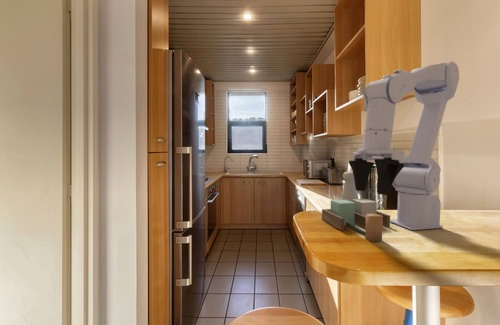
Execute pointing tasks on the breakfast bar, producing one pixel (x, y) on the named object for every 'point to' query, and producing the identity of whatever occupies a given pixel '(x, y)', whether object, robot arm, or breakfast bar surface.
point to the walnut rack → (359, 221)
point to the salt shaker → (349, 187)
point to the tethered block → (348, 213)
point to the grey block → (365, 206)
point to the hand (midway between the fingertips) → (370, 192)
